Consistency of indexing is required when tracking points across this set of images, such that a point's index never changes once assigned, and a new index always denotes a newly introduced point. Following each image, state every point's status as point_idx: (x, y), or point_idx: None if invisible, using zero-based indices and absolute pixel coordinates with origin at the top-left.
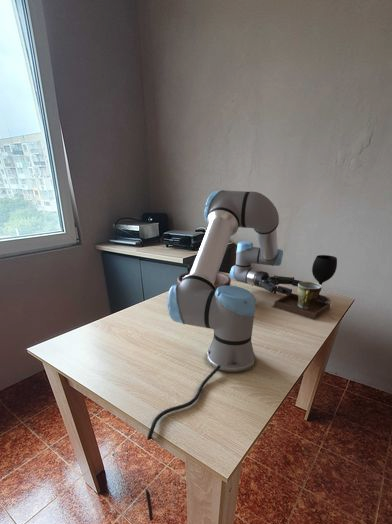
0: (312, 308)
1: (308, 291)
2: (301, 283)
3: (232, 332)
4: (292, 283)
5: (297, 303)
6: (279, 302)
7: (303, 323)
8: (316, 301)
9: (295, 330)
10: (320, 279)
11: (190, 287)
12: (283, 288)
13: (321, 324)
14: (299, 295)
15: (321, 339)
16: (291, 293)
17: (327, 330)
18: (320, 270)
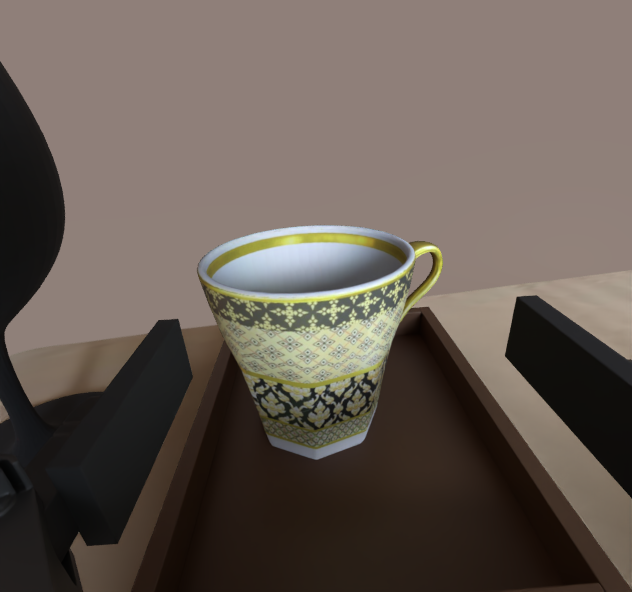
0: None
1: (424, 242)
2: (276, 306)
3: None
4: (111, 511)
5: (307, 476)
6: (577, 528)
7: None
8: (228, 373)
9: (616, 332)
10: (46, 276)
11: None
12: (612, 360)
13: (437, 313)
14: (386, 354)
15: (537, 282)
16: (511, 337)
17: (459, 293)
18: (38, 173)
